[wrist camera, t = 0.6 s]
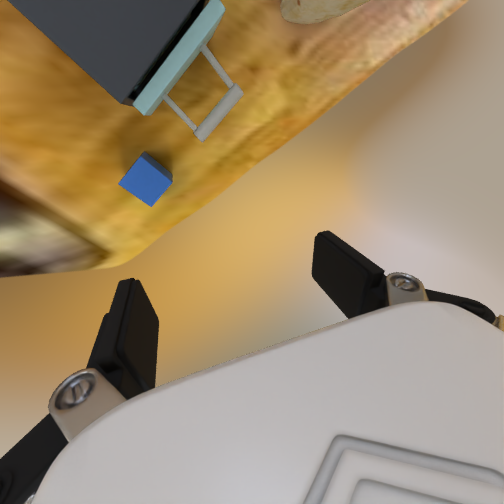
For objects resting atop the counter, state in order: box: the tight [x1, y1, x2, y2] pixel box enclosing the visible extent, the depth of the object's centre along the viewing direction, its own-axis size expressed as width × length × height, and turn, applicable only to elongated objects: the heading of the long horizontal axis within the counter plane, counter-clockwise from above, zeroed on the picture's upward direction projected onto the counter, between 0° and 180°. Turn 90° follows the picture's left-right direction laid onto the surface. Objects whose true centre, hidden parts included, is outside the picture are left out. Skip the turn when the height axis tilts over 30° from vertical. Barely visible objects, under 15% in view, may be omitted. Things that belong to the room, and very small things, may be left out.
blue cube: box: [118, 151, 173, 207], centre depth 29 cm, size 4×4×4 cm
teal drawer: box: [133, 0, 243, 142], centre depth 20 cm, size 19×11×8 cm, turn 42°
